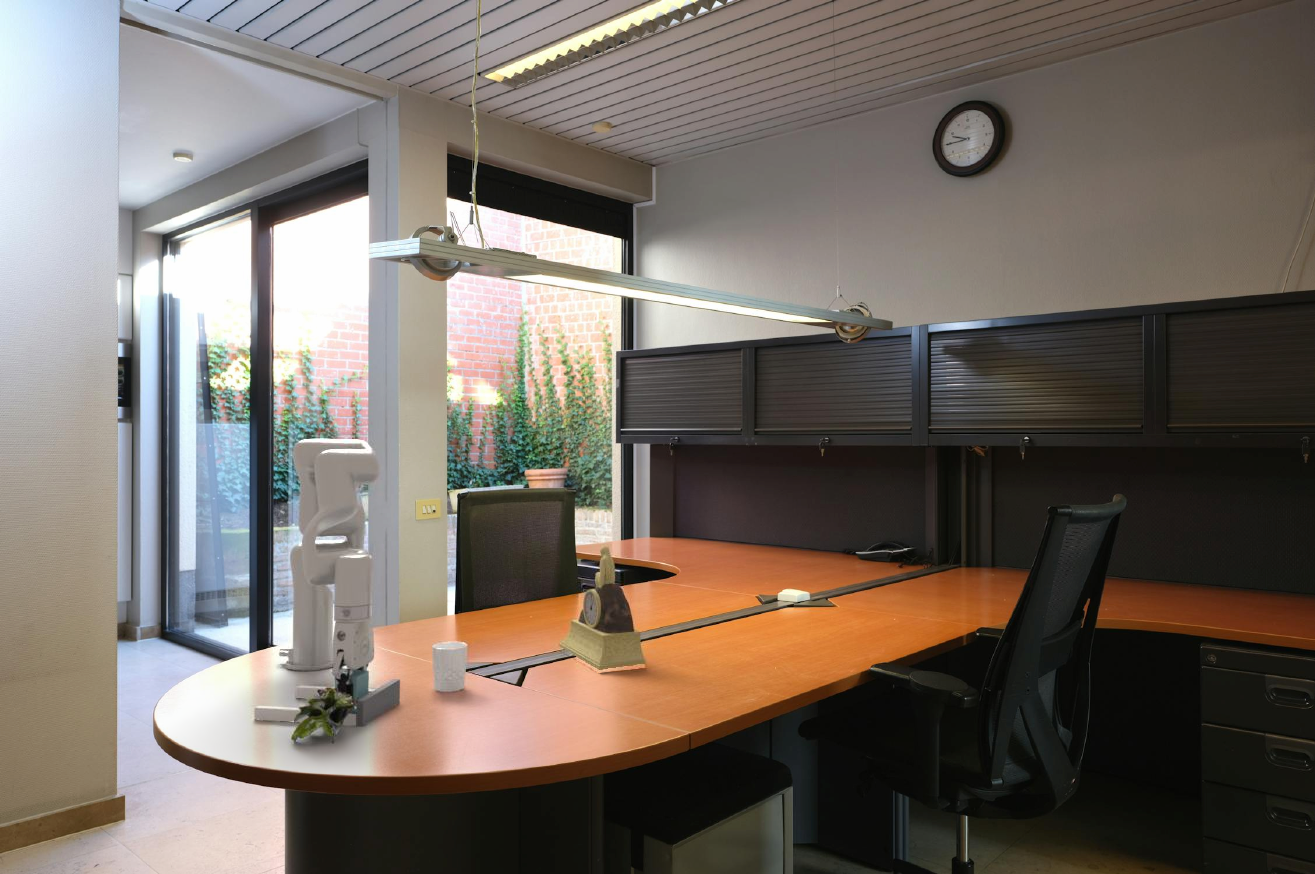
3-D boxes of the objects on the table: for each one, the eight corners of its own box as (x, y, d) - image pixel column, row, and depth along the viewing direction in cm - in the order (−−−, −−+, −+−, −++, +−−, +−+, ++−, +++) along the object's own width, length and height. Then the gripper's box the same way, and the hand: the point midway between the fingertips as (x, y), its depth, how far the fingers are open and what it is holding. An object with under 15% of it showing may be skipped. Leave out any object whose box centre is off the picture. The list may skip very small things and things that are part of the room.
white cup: (432, 694, 200) (433, 650, 200) (431, 685, 207) (431, 642, 208) (467, 691, 202) (468, 648, 202) (465, 682, 210) (466, 640, 210)
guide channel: (254, 720, 180) (254, 695, 180) (299, 696, 197) (300, 674, 197) (363, 726, 176) (363, 701, 177) (399, 702, 193) (399, 679, 193)
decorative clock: (558, 650, 244) (560, 542, 245) (601, 646, 250) (602, 540, 250) (598, 674, 219) (600, 553, 220) (645, 668, 225) (646, 551, 225)
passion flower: (326, 759, 173) (359, 702, 179) (343, 765, 165) (377, 704, 170) (275, 734, 169) (310, 676, 174) (290, 738, 160) (326, 677, 166)
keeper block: (334, 704, 184) (334, 675, 184) (346, 697, 189) (346, 669, 189) (356, 705, 183) (357, 677, 183) (368, 699, 188) (368, 670, 188)
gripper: (349, 621, 177) (348, 712, 177) (387, 606, 194) (386, 689, 194) (314, 619, 178) (313, 709, 178) (355, 604, 195) (354, 687, 195)
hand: (351, 698), depth 186 cm, fingers closed on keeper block, 5 cm apart
